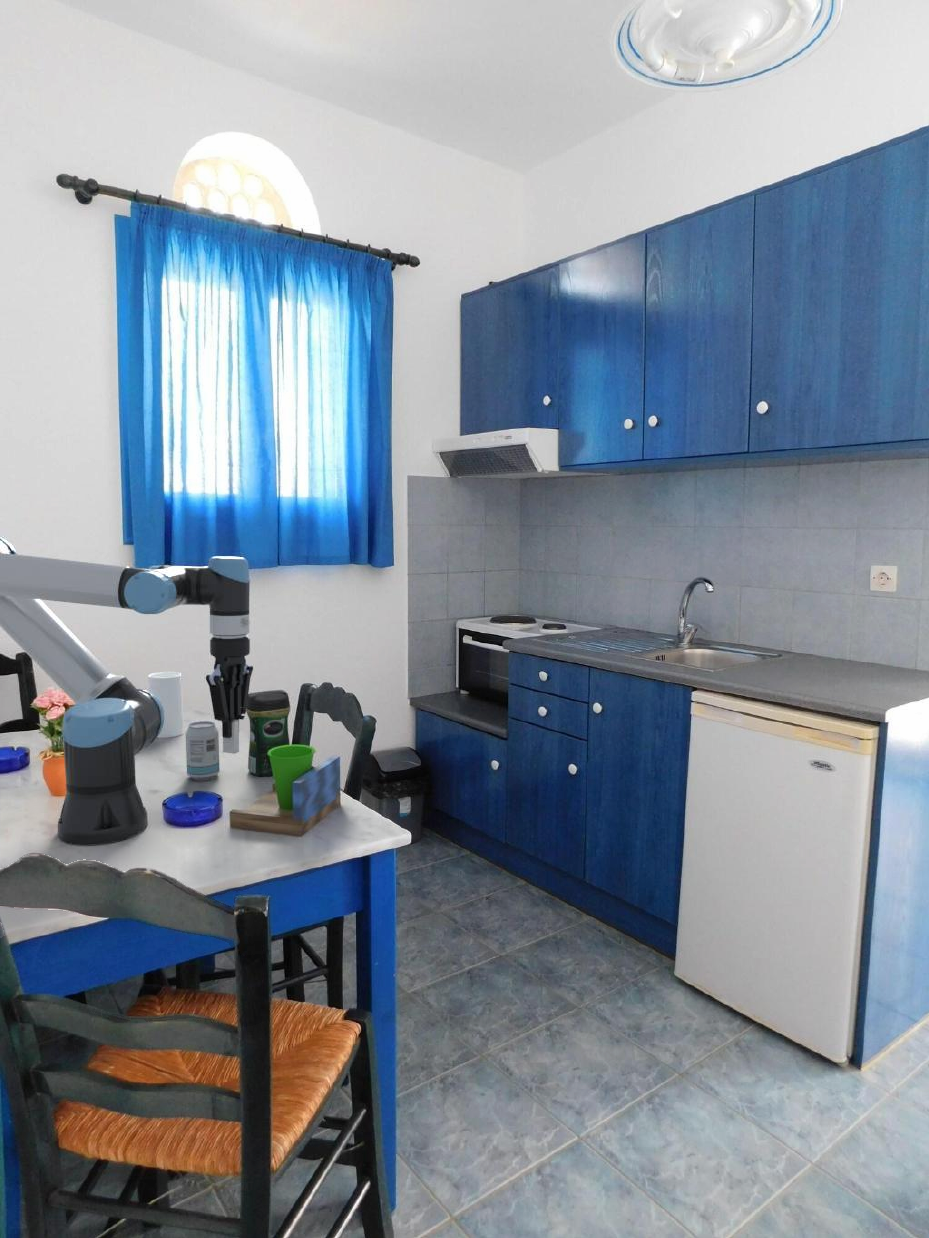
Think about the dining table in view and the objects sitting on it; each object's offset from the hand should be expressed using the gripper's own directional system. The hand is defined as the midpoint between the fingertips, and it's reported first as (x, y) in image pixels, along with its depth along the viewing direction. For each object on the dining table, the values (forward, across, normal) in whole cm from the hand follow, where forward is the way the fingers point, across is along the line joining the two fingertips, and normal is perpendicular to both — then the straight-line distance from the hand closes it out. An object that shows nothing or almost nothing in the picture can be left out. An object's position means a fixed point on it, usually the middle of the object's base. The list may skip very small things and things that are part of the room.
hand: (231, 751), depth 161 cm
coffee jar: (+11, +21, +4) cm, 24 cm away
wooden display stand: (+11, -2, -14) cm, 18 cm away
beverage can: (+11, +12, +16) cm, 23 cm away
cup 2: (+9, -2, -15) cm, 18 cm away
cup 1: (+12, +40, +47) cm, 63 cm away
